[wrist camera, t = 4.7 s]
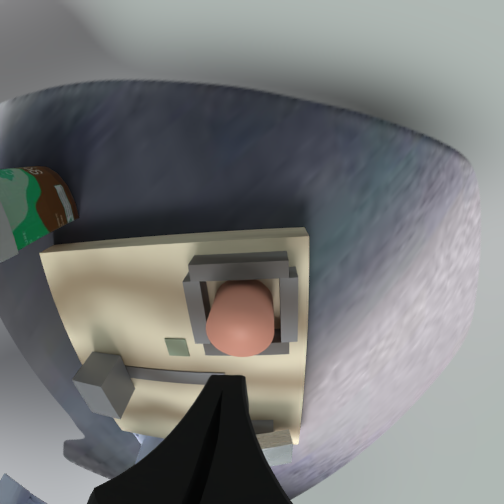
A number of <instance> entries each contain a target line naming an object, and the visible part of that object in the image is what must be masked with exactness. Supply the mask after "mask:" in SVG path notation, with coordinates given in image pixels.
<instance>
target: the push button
mask: <svg viewBox="0 0 504 504" xmlns="http://www.w3.org/2000/svg"><path fill="white" fill-rule="evenodd" d="M206 333H207V336H208V339H209V340H210V342H211V343H212V344H213V345H214V346H215V347H216V348H217V349H218V350H220V351H221V352H223V353H225V354H228V355H231V356H236V357H249V356H253V355H256V354H259V353H261V352H262V351H264V350H265V349H266V348H267V347H268V346H269V345H270V344H271V342H272V340H273V337H274V308H273V297H272V294H271V292H270V290H269V289H268V288H267V287H266V286H265V285H264V284H263V283H262V282H260V281H258V280H256V279H254V280H229V281H226V282H224V283H223V284H222V285H221V286H220V287H219V289H218V290H217V293H216V295H215V298H214V301H213V304H212V307H211V310H210V313H209V316H208V319H207V323H206Z"/></svg>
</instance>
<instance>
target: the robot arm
mask: <svg viewBox="0 0 504 504" xmlns="http://www.w3.org/2000/svg"><path fill="white" fill-rule="evenodd" d="M134 435H135V436H136V438H137V439H138V441H139V442H140V443H141V448H140V451H139V454H138V456H137V459H136V462H135V465H133V466H132V467H130V468H129V469H128V470H126V471H125V472H123V473H122V474H120V475H118V476H117V477H115V478H113V479H111V480H109V481H107V482H105V483H103V484H101V485H99V486H97V487H96V488H94V490H93V492H92V494H91V495H90V497H89V500H88V503H87V504H293V503H292V502H291V501H290V499H289V498H288V496H287V495H286V493H285V492H284V490H283V489H282V487H281V485H280V484H279V482H278V480H277V478H276V477H275V475H274V473H273V471H272V470H271V468H270V466H269V464H268V462H267V460H266V458H265V456H264V453H263V451H262V449H261V447H260V444H259V442H258V439H257V437H256V434H255V431H254V428H253V425H252V422H251V418H250V414H249V400H248V393H247V385H246V377H245V376H243V375H211V376H210V377H209V379H208V380H207V382H206V384H205V386H204V387H203V389H202V391H201V392H200V394H199V395H198V397H197V399H196V400H195V402H194V403H193V404H192V406H191V407H190V409H189V410H188V411H187V413H186V414H185V416H184V417H183V418H182V419H181V421H180V422H179V423H178V424H177V425H176V427H175V428H174V429H173V430H172V431H171V432H170V434H169V435H168V436H167V437H166V438H165V439H164V438H158V437H152V436H147V435H142V434H137V433H134ZM0 504H47V503H45V502H44V501H42V500H41V499H39V498H37V497H36V496H34V495H33V494H31V493H30V492H29V491H28V490H27V489H25V488H24V487H23V486H21V485H20V484H19V483H17V482H16V481H15V480H13V479H12V478H11V477H9V476H8V475H7V474H4V475H3V477H2V478H1V480H0Z"/></svg>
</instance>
